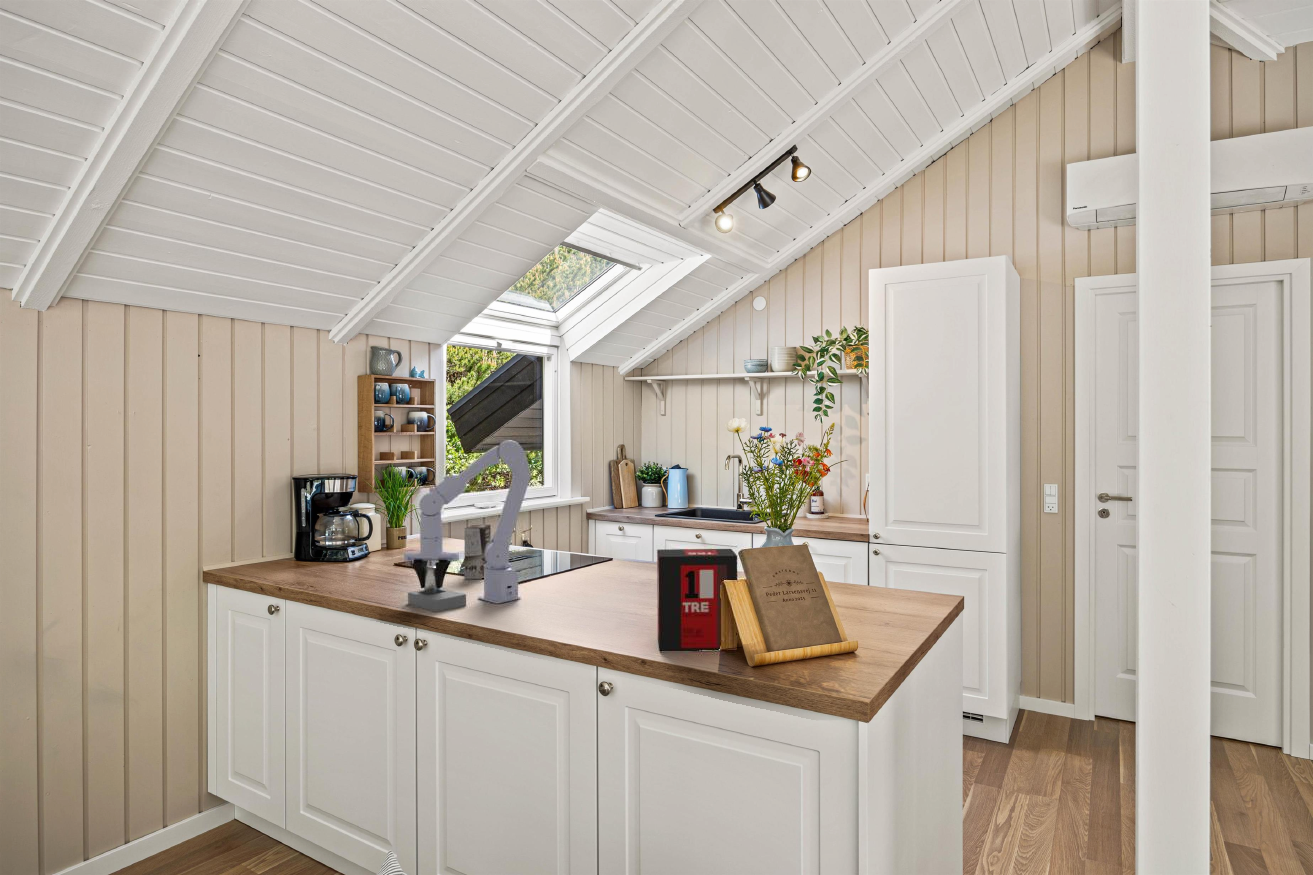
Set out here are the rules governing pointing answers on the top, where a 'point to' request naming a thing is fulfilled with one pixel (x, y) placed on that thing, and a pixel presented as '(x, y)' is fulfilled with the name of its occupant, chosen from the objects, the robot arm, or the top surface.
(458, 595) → the socket block
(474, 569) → the coffee box
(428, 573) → the peg
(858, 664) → the top surface
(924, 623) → the top surface
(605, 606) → the top surface
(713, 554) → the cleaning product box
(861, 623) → the top surface
